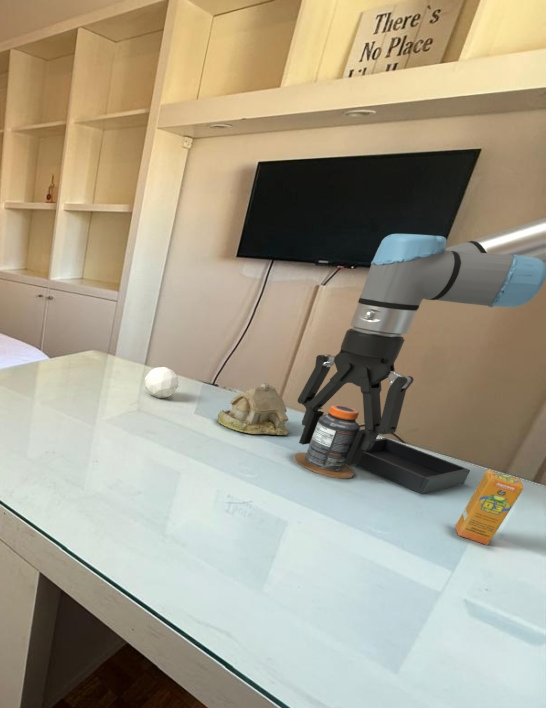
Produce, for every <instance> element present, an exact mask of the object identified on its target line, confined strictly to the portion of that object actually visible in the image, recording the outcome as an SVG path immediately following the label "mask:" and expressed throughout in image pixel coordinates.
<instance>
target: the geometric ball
mask: <svg viewBox="0 0 546 708" xmlns="http://www.w3.org/2000/svg"><path fill="white" fill-rule="evenodd" d="M144 386H145V389H146V391H147V392H148V394H149V395H151V396H153V397H155V398H157V399H165V398H166V399H167V398H169V397H170V396H171V395H173V394H174V393H175V392H176V390H177V389H178V388H179V379H178V376H177V374H176V373H175V371H174V370H172V369H170V368H168V367H167V366H160V367H154V368H153V369H151V370H150V371H149V372H148V374H146V376H145V378H144Z"/></svg>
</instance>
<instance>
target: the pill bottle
mask: <svg viewBox="0 0 546 708" xmlns="http://www.w3.org/2000/svg"><path fill="white" fill-rule="evenodd" d="M359 413H360V412H359V410H357V409H355V408H353V407H349V406H346V405H341V404H332V405H330V408H329V410H328V413H326V414H323V416H321V417H320V418H319V420H318V423H317V426H316V428H315V431H314V434H313V436H312V439H311V442H310V444H308V447H307V450H306V452H305V453H306V455H305V459H306V460H307V461H308V462H309V463H311V464H312V465H314V466H317V467H319V468H322V469H326V470H331V471H341V470H343V469H344V467H345V465H347V464H345V461H346V458H347V456H348V454H349V451H350V449H351V447H352V444H353V442H354V439H355V437H356V435H357V432H358V430H361V426H360V424H359V423H358V422H357V421H356V420H357V419H358V416H359Z"/></svg>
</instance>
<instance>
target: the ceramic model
mask: <svg viewBox="0 0 546 708" xmlns="http://www.w3.org/2000/svg"><path fill="white" fill-rule="evenodd" d="M229 404H230V405H231V409H228V410H227V409H226V410H223V409H222V410H220V411H218V413H217V421H218V423H219V424H220V425H222V426H224V427H226V428H229V429H231V430H233V431H237V432H241V433H246V434H251V435H252V434H253V435H260V434H263V435H264V434H265V435H278V436H285V435H287V436H288V434H289V430H288V428H287V425H286V423H287V422H288V421H289V416H288V415H287V406H286V404H285V401H284V399H283V398H282V397H281V396H280V394H279V393H278V391H277V390H276V387H275V386H272V385H270V384H268V383H265V382H263V383H261V385H260V386H255V387H251V388H249V389H247V390H245V391H244V392H240V394H238V395H236V396H235V397H233V398H232V400H230V402H229Z"/></svg>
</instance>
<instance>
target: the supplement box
mask: <svg viewBox="0 0 546 708" xmlns="http://www.w3.org/2000/svg"><path fill="white" fill-rule="evenodd" d="M523 490H524V485H523V483H522V480H521V479H520V478H518V477H514V476H509V475H507V474H506V475H505V474H502V473H499V472H495V471H492V470H486V471H485V473H484V474H483V477H481V480H480V482H479V484H478V485H477V487H476V489H475V490H474V492H473V494H472V495H471V498H470V499H469V501H468V502H467V505H466V507H465V508H464V510H463V512H462V513H461V515H460V517H459V518H458V519H457V521H456V523H455V529H456V534H457V536H458V537H462V538H464V539H467V540H471V541H473V542H476V543H479V544H483V545H485V546H488V545H489V543H490V542H491V540H492V539H493V537H494V536H495V535H496V533H497V531H498V530H499V528H500V526H501V525H502V523H503V522H504V520H505V519H506V517H507V515H508V514H509V513H510V510H511V509H512V508H513V506H514V504H515V503H516V501H517V500H518V498H519V496H520V495H521V493H522V492H523Z"/></svg>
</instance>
